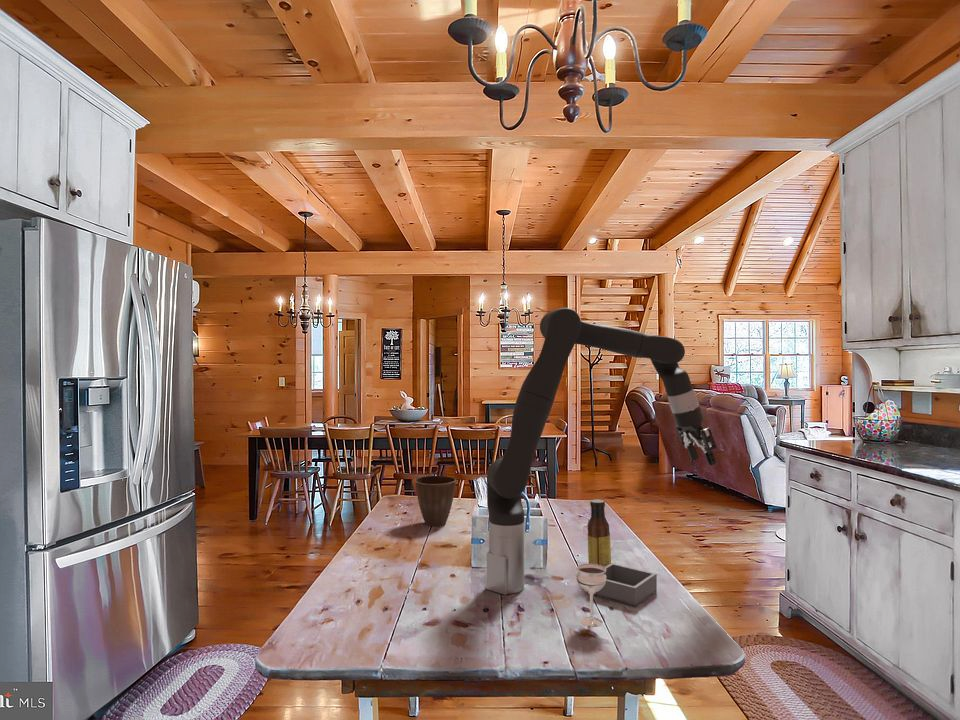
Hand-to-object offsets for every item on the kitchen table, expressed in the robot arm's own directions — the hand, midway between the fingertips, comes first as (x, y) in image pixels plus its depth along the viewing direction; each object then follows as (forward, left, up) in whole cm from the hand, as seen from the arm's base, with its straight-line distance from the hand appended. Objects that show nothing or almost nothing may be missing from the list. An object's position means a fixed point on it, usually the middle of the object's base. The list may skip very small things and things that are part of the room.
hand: (703, 461), depth 165 cm
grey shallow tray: (-27, +11, -31) cm, 43 cm away
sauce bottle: (-17, +23, -31) cm, 43 cm away
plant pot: (-11, +92, -31) cm, 98 cm away
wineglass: (-47, +9, -31) cm, 57 cm away
